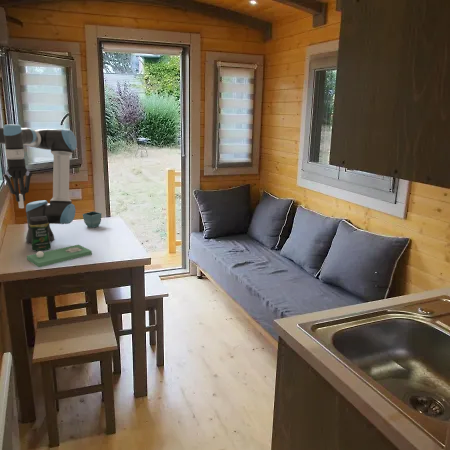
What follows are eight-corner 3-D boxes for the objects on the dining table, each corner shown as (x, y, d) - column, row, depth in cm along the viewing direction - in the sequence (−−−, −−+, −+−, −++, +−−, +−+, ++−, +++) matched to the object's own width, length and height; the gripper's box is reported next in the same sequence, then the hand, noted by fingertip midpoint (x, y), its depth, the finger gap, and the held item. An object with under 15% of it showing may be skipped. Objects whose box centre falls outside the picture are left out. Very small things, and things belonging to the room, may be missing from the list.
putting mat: (27, 259, 219) (26, 255, 218) (78, 247, 237) (78, 244, 237) (38, 267, 208) (38, 263, 208) (91, 254, 227) (91, 250, 227)
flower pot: (92, 229, 274) (91, 215, 272) (83, 227, 279) (82, 213, 277) (102, 226, 281) (101, 213, 279) (93, 224, 286) (92, 211, 284)
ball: (35, 257, 216) (34, 251, 215) (42, 256, 218) (41, 249, 217) (38, 259, 213) (37, 252, 212) (45, 257, 216) (44, 251, 215)
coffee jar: (32, 252, 229) (28, 219, 224) (31, 248, 236) (27, 215, 231) (51, 250, 233) (48, 217, 228) (50, 246, 240) (47, 214, 235)
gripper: (3, 159, 191) (9, 211, 197) (33, 158, 200) (38, 207, 206) (-2, 158, 197) (4, 208, 203) (27, 156, 206) (32, 204, 211)
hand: (21, 207), depth 204 cm, fingers closed
